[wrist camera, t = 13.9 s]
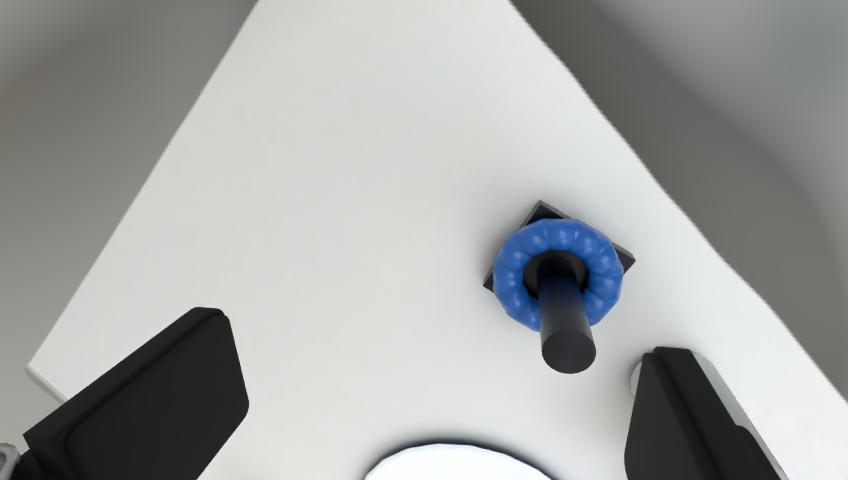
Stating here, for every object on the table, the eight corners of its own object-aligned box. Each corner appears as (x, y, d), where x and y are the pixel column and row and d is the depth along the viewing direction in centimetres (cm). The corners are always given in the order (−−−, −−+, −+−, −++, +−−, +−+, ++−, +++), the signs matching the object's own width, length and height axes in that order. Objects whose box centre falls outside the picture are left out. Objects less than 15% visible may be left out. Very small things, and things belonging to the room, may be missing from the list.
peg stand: (483, 279, 35) (467, 364, 25) (539, 199, 31) (548, 258, 21) (567, 329, 35) (586, 434, 25) (632, 254, 31) (685, 339, 21)
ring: (472, 285, 34) (469, 298, 32) (536, 191, 30) (538, 200, 28) (569, 342, 34) (572, 359, 32) (646, 256, 30) (654, 269, 28)
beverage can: (684, 329, 33) (765, 457, 22) (733, 386, 33) (835, 537, 23) (611, 368, 35) (652, 501, 24) (658, 420, 36) (718, 571, 25)
